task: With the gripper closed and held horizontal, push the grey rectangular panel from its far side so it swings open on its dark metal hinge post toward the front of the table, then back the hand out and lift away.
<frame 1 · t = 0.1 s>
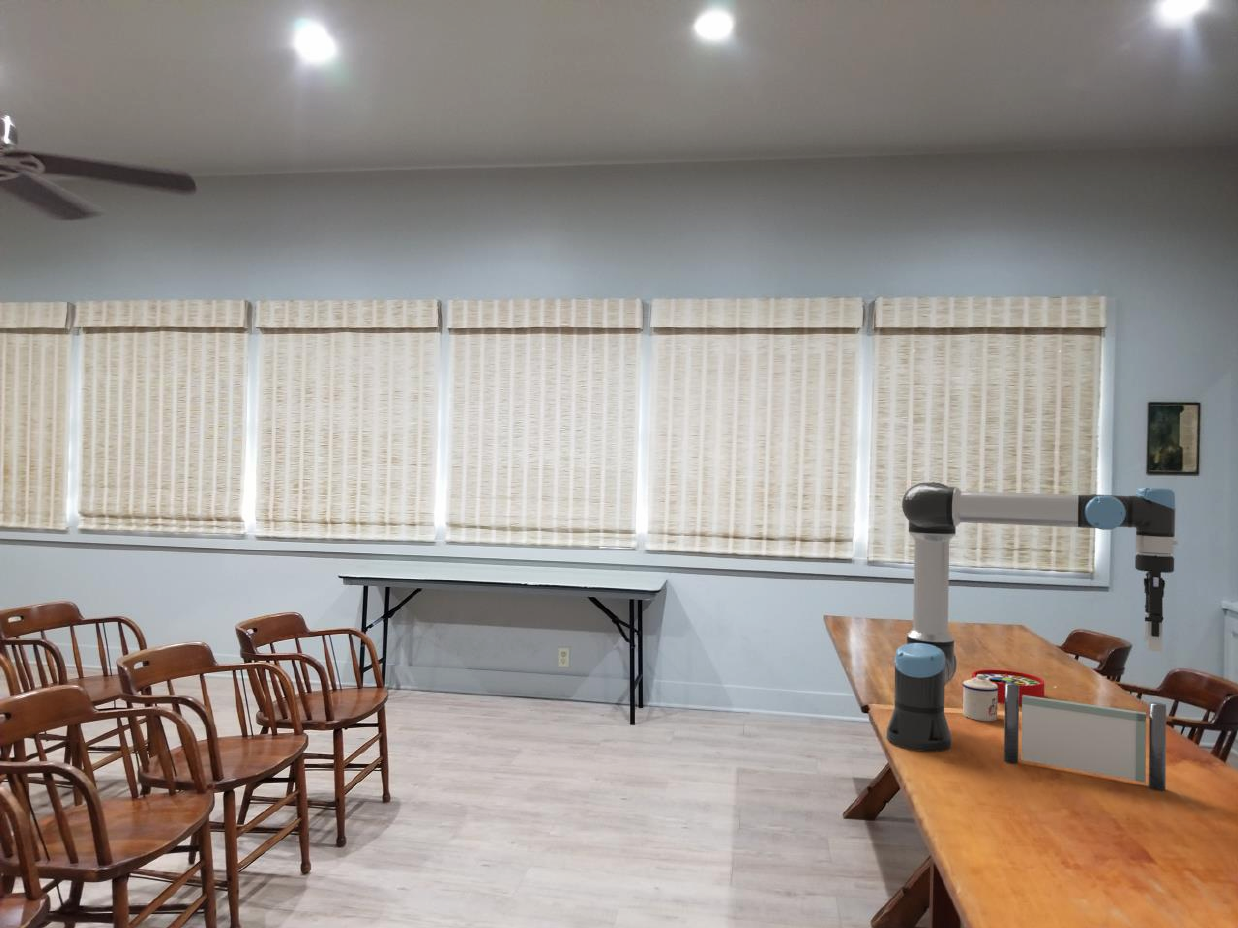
hand: (1153, 645, 185), 28 cm above the table, tool pointing down, fingers open, 13 cm apart
teacup with lid: (980, 716, 223), on the table
gate posts: (1011, 761, 186), on the table
grey rectangular panel: (1081, 736, 179), point 8 cm above the table, hinge at 0.0°
toy clock: (1007, 697, 245), on the table
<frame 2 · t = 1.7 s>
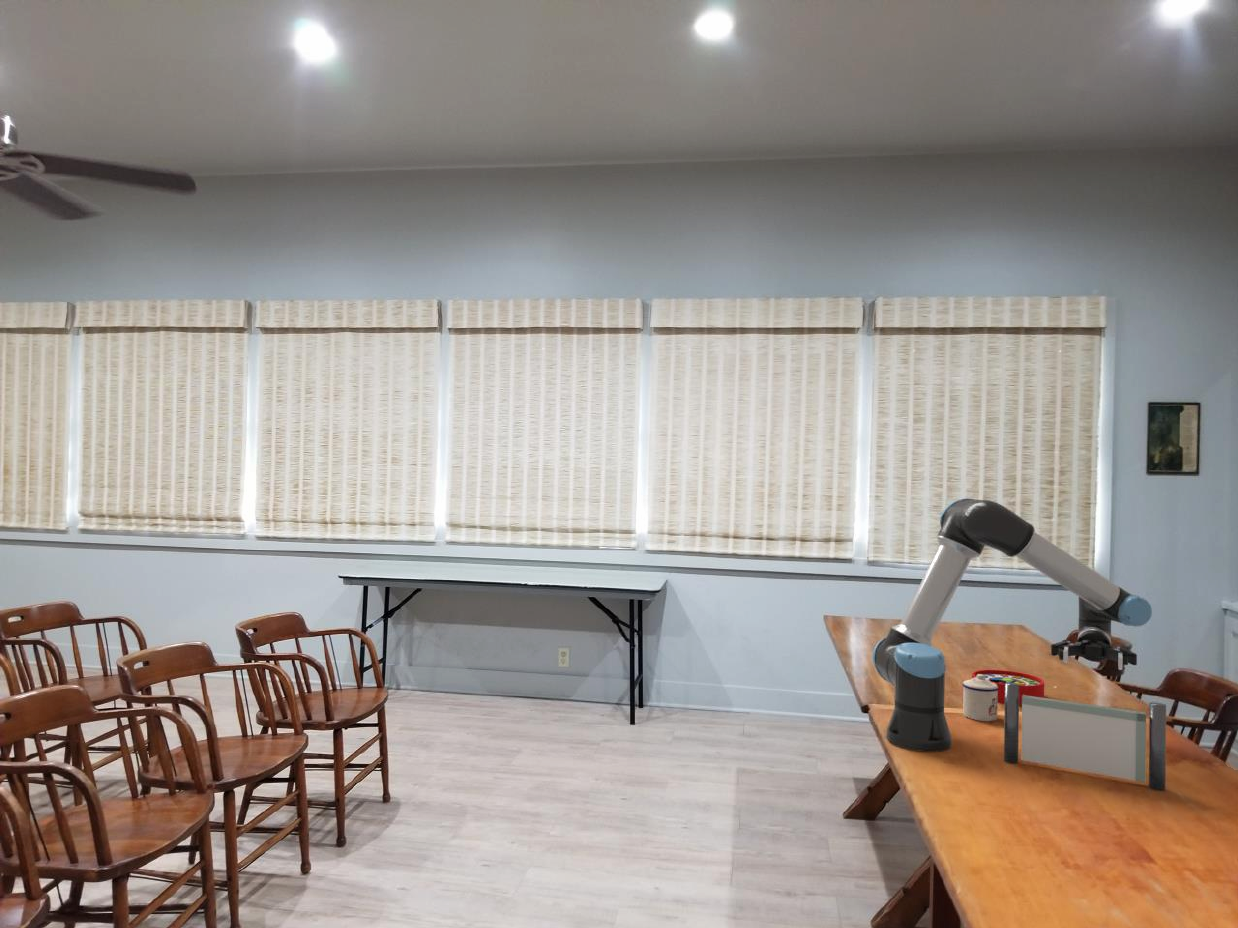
hand: (1092, 660, 186), 24 cm above the table, tool horizontal, fingers open, 10 cm apart
nothing on the table moved.
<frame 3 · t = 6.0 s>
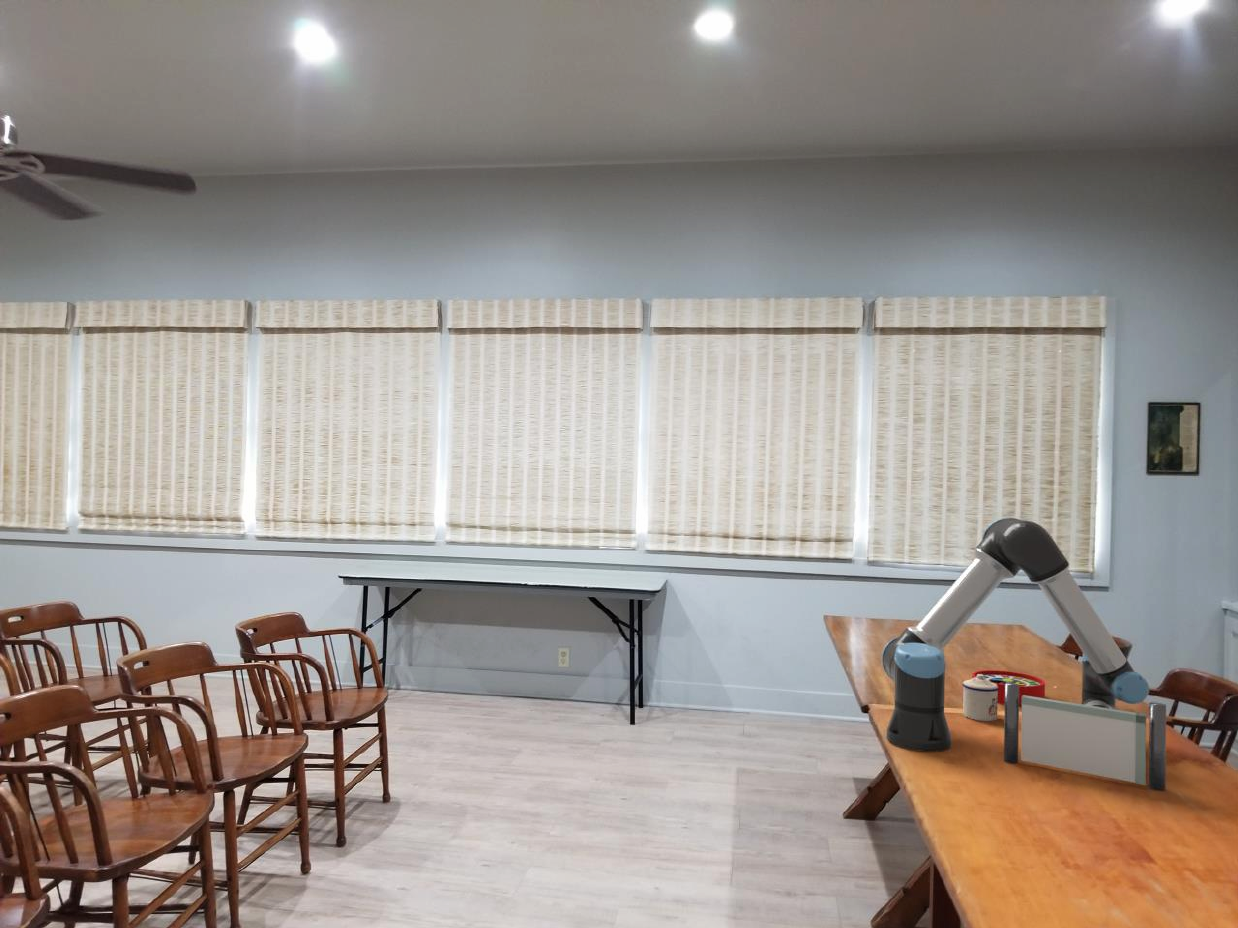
hand: (1098, 746, 178), 7 cm above the table, tool horizontal, fingers closed
grey rectangular panel: (1081, 738, 178), point 8 cm above the table, hinge at -3.5°, touching gripper
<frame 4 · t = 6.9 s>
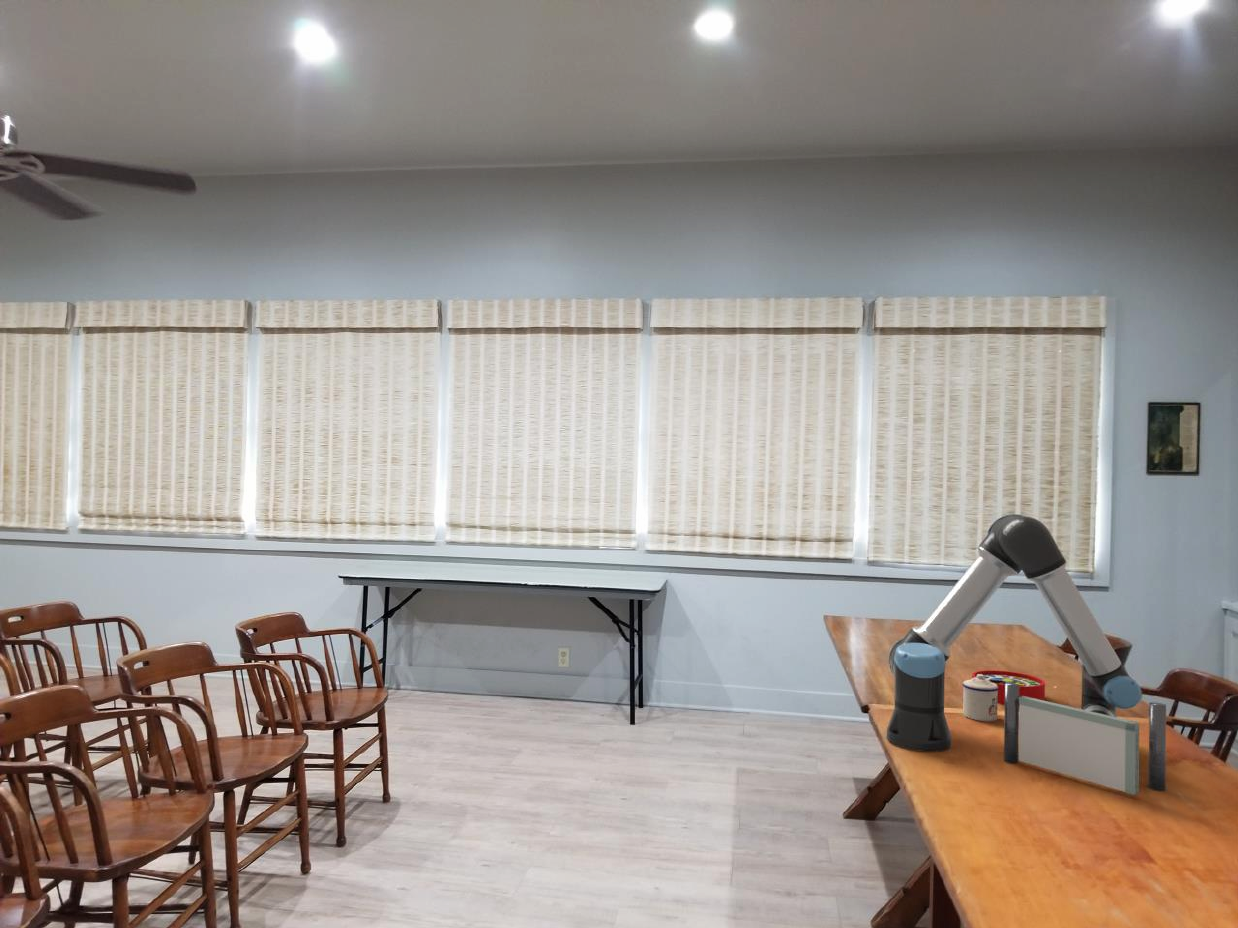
hand: (1098, 753, 173), 7 cm above the table, tool horizontal, fingers closed
grey rectangular panel: (1075, 742, 175), point 8 cm above the table, hinge at -21.6°, touching gripper
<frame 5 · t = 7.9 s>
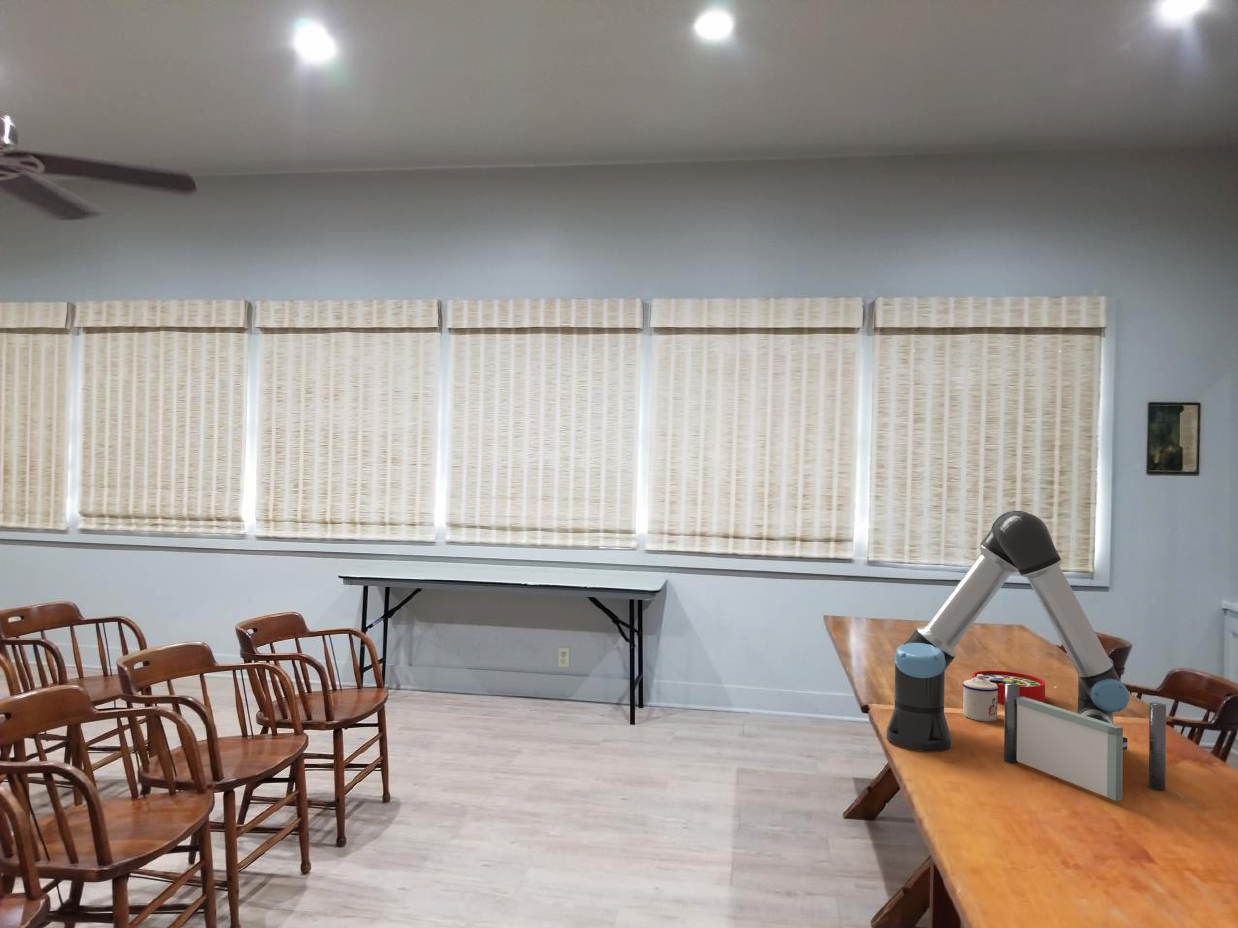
hand: (1094, 759, 169), 7 cm above the table, tool horizontal, fingers closed
grey rectangular panel: (1066, 744, 173), point 8 cm above the table, hinge at -36.2°, touching gripper
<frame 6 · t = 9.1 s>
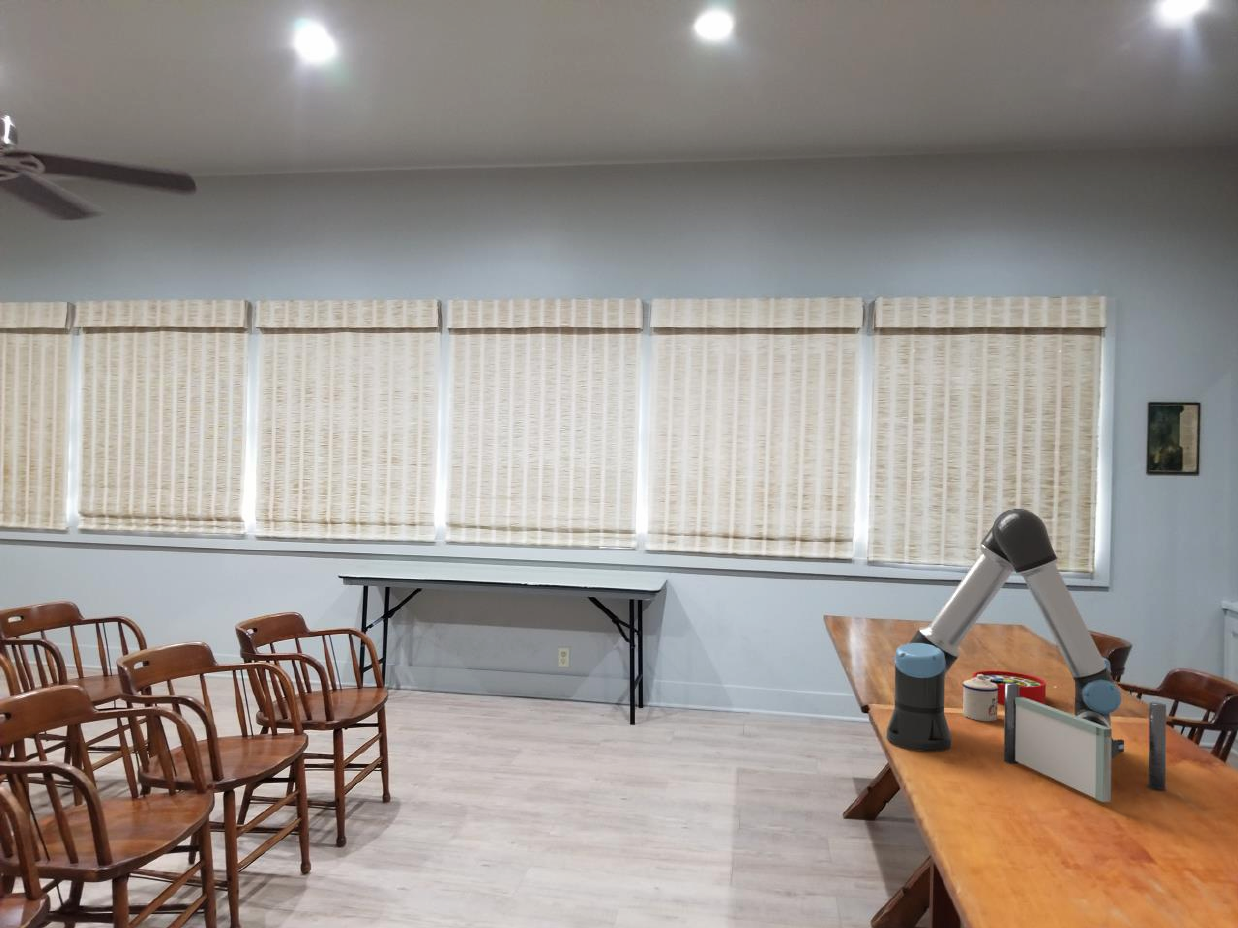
hand: (1090, 761, 167), 7 cm above the table, tool horizontal, fingers closed
grey rectangular panel: (1059, 745, 173), point 8 cm above the table, hinge at -43.2°, touching gripper
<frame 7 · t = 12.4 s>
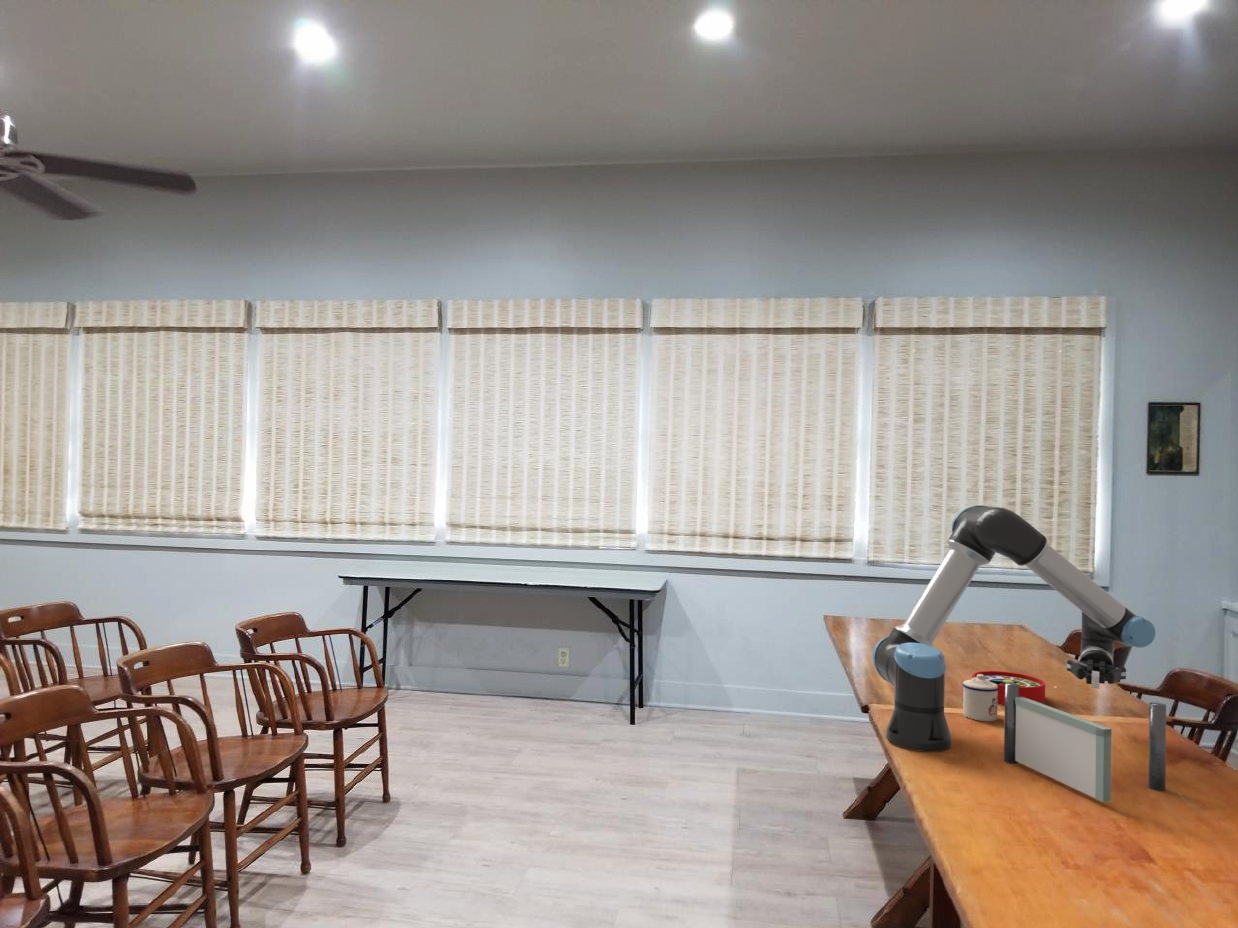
hand: (1095, 682, 185), 19 cm above the table, tool horizontal, fingers closed
grey rectangular panel: (1059, 745, 173), point 8 cm above the table, hinge at -43.3°
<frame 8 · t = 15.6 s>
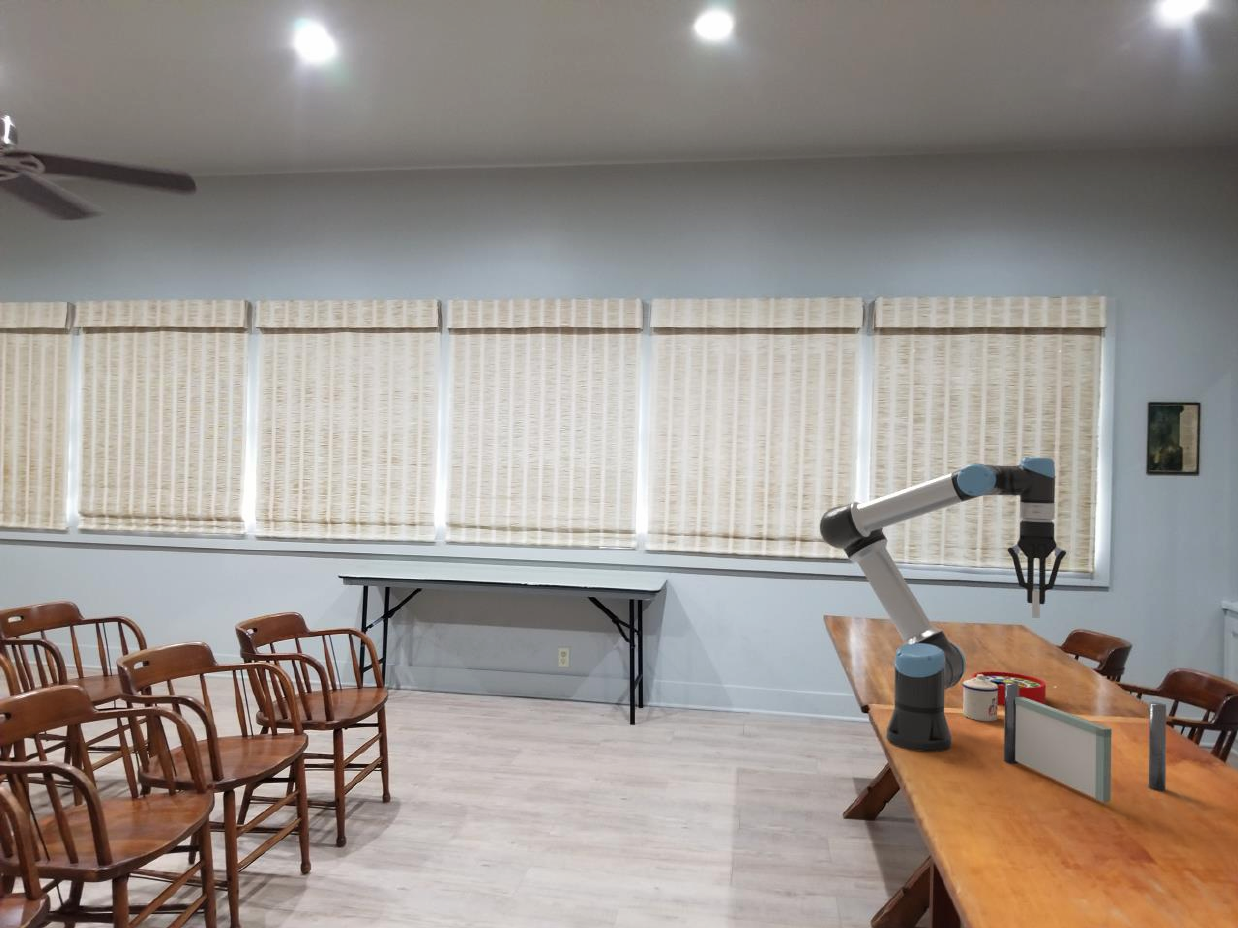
hand: (1035, 616, 195), 32 cm above the table, tool pointing down, fingers closed
at the end: grey rectangular panel at -43° (first picture: +0°); teacup with lid moved 0.2 cm from its start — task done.
